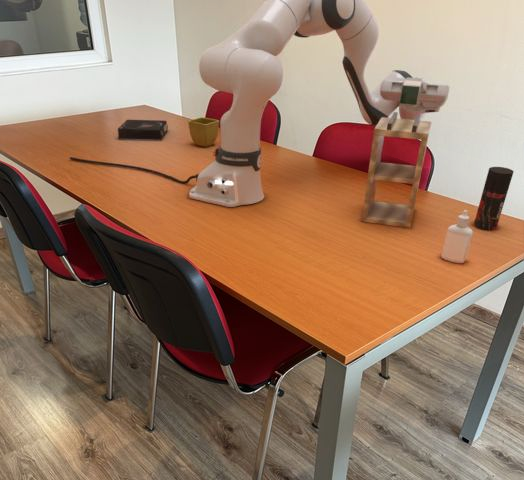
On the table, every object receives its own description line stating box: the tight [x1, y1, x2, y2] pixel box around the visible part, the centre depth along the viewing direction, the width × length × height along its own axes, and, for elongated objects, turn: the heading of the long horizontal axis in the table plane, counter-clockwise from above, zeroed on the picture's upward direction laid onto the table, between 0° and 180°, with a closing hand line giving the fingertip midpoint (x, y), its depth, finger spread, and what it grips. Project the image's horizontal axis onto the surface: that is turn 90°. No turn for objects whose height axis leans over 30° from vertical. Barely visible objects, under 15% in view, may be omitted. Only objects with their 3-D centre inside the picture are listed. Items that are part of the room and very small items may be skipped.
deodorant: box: [473, 166, 514, 231], centre depth 136 cm, size 6×6×15 cm
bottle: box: [400, 76, 424, 105], centre depth 145 cm, size 20×4×4 cm, turn 162°
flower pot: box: [187, 116, 220, 148], centre depth 199 cm, size 9×9×9 cm
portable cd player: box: [117, 119, 169, 142], centre depth 211 cm, size 16×17×4 cm
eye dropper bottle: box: [440, 209, 474, 264], centre depth 119 cm, size 4×6×12 cm
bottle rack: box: [361, 111, 432, 229], centre depth 138 cm, size 13×14×26 cm
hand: (414, 81), depth 149 cm, fingers closed on bottle, 2 cm apart
